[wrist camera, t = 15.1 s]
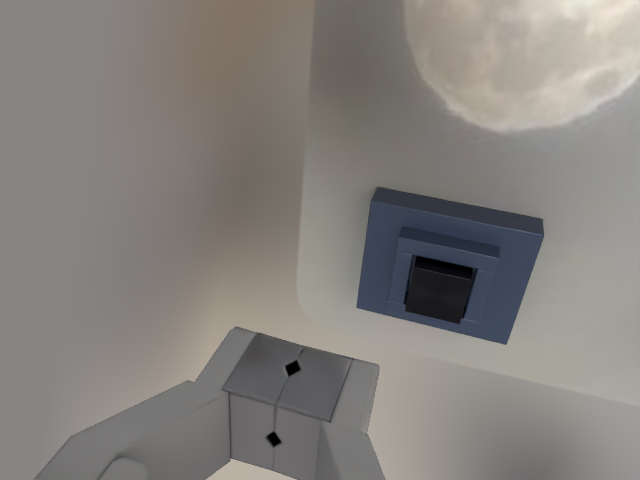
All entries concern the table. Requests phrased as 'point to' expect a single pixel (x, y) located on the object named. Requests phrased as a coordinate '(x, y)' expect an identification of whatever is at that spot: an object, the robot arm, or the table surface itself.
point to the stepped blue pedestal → (449, 258)
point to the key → (439, 289)
